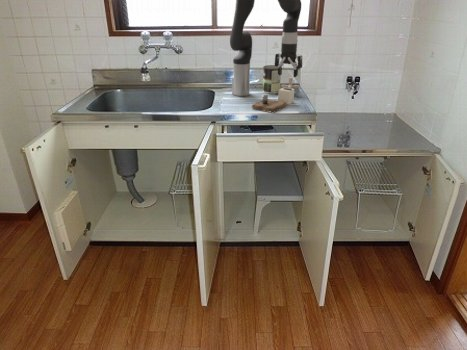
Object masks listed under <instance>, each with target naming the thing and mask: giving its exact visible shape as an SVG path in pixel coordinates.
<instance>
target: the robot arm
mask: <svg viewBox="0 0 467 350" xmlns="http://www.w3.org/2000/svg"><path fill="white" fill-rule="evenodd" d="M255 2H256V1H255V0H235V7H234V8H235V9H234V14H233V15H234V16H233V21H232V27H231V30H230V37H229V45H230V48H231V49H232V51H234V52H238V53H237V55H236V56H234V57H233V60H232V61H233V62H232V64H233V70H232V71H233V73H232V74H233V76H232V77H231V95H233V96H237V97H246V96H250V92H251V91H250V89H251V88H250V83H251V81H250V80H251V79H250V77H251V75H250V74H251V59H252V54H253V53H252V52H253V37H252V35H251V33H250V32H249V31H244V28H245V24H246V22H247V20H248V18H249V16H250V14H251V13H252V11H253V9H254V6H255ZM277 2H278V4H279V6H280V8H281V10H282V12H284V13H286V18H285V19H284V20H283V22H282V35H281V48H280V49H281V50H280V52H281V53H276V54H275V55H274V57H275V58H274V65H275V66H277V67H278V74H279V75H281V76H282V74H283V65H286V64H287V65H291V66H292V67H293V75H292V76H293V77H292V78H296V77H297V76H298V75H299V70H300V69H303V55H302V54H301V55H297V52H298V49H297V48H298V28H299V24H298V23H299V20H300V15H301V11H302V0H277ZM280 59H281V60H280ZM296 60H297V61H296Z"/></svg>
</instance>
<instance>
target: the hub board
mask: <svg viewBox="0 0 467 350" xmlns="http://www.w3.org/2000/svg"><path fill="white" fill-rule="evenodd" d="M262 101H263V99H262V100H261V101H258V102H256V103H252V106H251V107H252V109H253V110H258V111H262V110H265V111H264V112H267V111H271V112H270V113H272V112H274V111H276V112H278V111H279V109H280V110H282V109H283V108H285V107H287V105H286V102H281V101H278V100H275V99H274V100H273V99H269V98H268V104H262ZM277 110H278V111H277ZM274 113H275V112H274Z"/></svg>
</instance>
